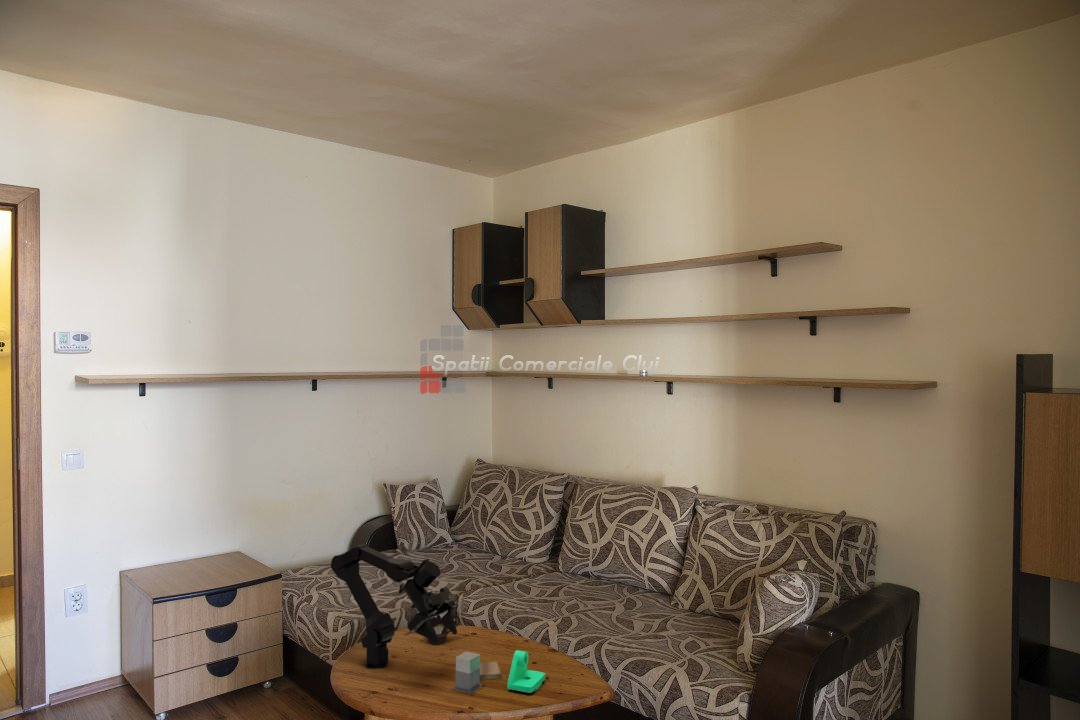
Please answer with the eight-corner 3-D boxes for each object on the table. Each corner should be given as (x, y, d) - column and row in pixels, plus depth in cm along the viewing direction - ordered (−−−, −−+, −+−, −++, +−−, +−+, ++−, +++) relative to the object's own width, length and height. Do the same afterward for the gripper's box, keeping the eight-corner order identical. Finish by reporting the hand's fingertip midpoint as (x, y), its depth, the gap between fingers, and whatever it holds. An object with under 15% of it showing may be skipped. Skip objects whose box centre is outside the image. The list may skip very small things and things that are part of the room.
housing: (452, 689, 217) (453, 657, 218) (464, 681, 223) (465, 650, 223) (470, 694, 214) (471, 661, 215) (482, 686, 220) (483, 654, 220)
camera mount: (531, 696, 213) (531, 661, 214) (507, 692, 216) (508, 657, 217) (546, 681, 225) (546, 647, 225) (523, 677, 227) (523, 644, 228)
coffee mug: (421, 645, 254) (421, 616, 254) (429, 636, 262) (429, 608, 262) (453, 647, 252) (454, 618, 252) (460, 639, 260) (460, 610, 260)
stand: (469, 680, 224) (469, 675, 224) (465, 668, 234) (465, 663, 234) (501, 678, 226) (501, 673, 226) (496, 666, 236) (496, 661, 236)
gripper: (415, 587, 218) (445, 631, 212) (452, 573, 234) (480, 614, 228) (394, 610, 221) (422, 653, 215) (431, 594, 238) (458, 635, 232)
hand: (447, 638), depth 223 cm, fingers open, 9 cm apart
